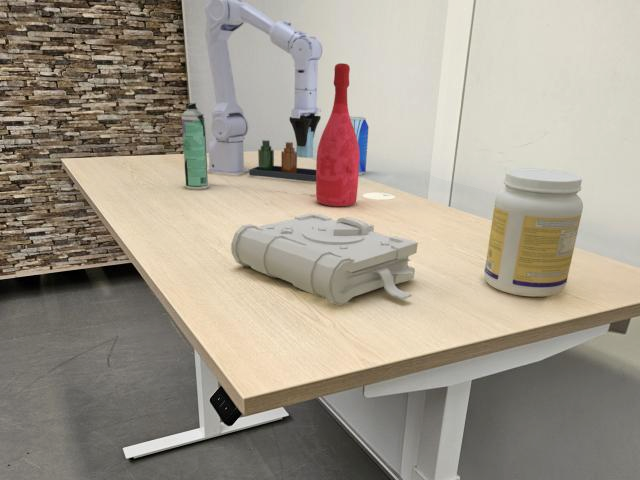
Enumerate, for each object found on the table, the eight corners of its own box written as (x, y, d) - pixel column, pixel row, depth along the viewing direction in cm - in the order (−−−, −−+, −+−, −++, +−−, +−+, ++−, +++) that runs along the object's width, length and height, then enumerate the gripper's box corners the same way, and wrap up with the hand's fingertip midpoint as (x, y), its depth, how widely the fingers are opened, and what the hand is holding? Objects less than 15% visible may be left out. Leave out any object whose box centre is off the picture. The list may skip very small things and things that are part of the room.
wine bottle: (307, 203, 134) (311, 62, 121) (327, 196, 142) (332, 62, 129) (345, 209, 130) (353, 64, 117) (363, 202, 138) (372, 64, 125)
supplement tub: (576, 285, 90) (602, 175, 83) (545, 306, 81) (571, 186, 74) (503, 266, 97) (521, 164, 90) (468, 283, 89) (484, 172, 82)
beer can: (365, 178, 166) (369, 119, 159) (336, 176, 166) (339, 118, 159) (364, 173, 173) (368, 116, 167) (336, 171, 173) (339, 115, 167)
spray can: (210, 186, 148) (206, 103, 140) (204, 190, 143) (200, 104, 135) (189, 184, 148) (184, 102, 140) (183, 189, 143) (177, 103, 135)
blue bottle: (293, 156, 152) (294, 120, 148) (299, 154, 156) (300, 119, 152) (309, 158, 151) (310, 122, 147) (315, 156, 154) (316, 120, 151)
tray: (249, 177, 161) (249, 169, 160) (262, 171, 169) (262, 164, 168) (320, 184, 155) (321, 176, 154) (331, 178, 163) (331, 171, 162)
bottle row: (255, 173, 163) (255, 140, 159) (262, 171, 166) (262, 138, 163) (293, 177, 159) (293, 143, 156) (299, 174, 163) (299, 142, 159)
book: (357, 323, 74) (361, 267, 71) (228, 267, 92) (226, 220, 88) (444, 288, 86) (450, 239, 83) (315, 245, 104) (317, 203, 101)
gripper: (310, 91, 139) (309, 149, 145) (329, 89, 151) (327, 143, 157) (283, 90, 141) (283, 147, 147) (304, 88, 153) (303, 141, 159)
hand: (304, 145), depth 152 cm, fingers closed on blue bottle, 4 cm apart
